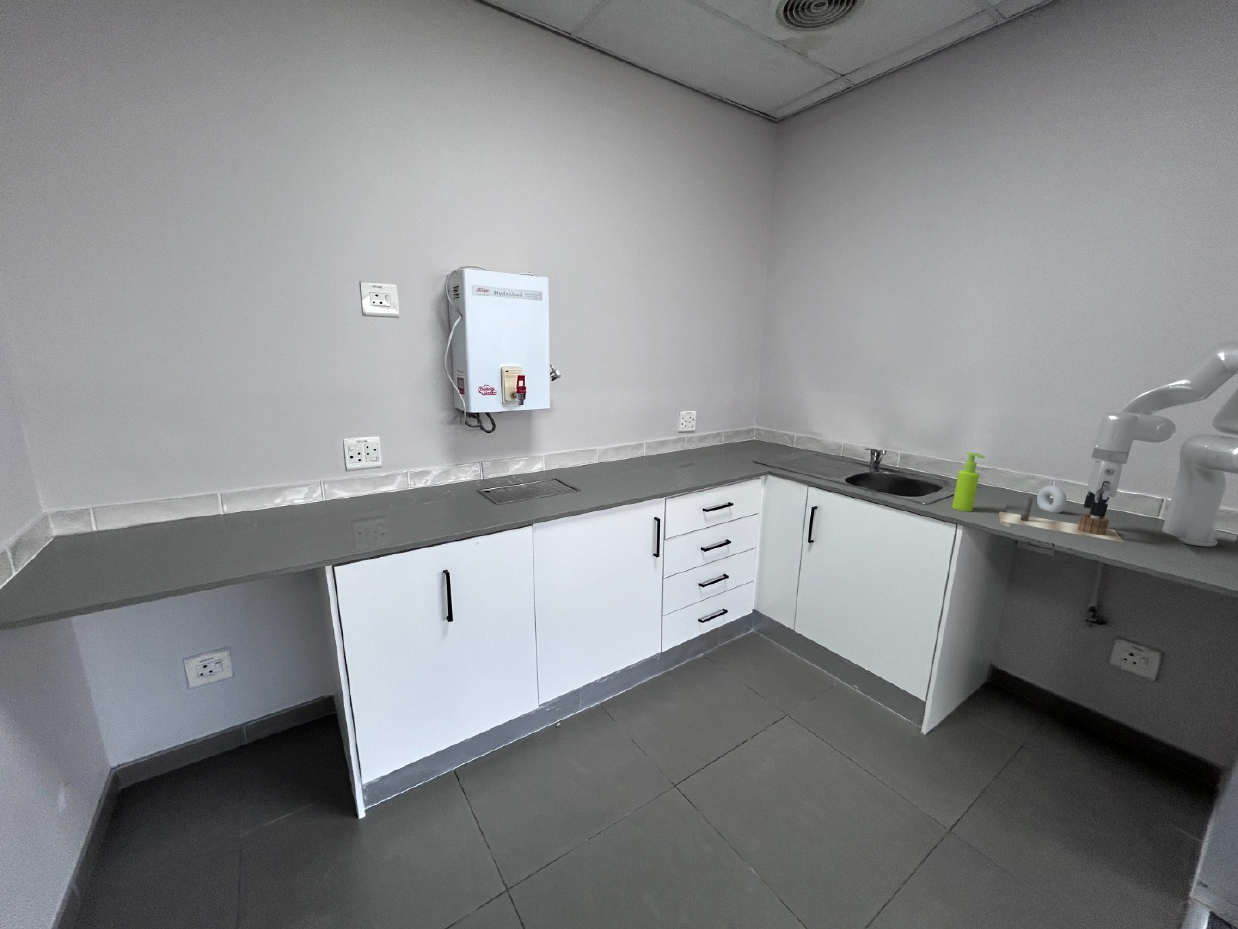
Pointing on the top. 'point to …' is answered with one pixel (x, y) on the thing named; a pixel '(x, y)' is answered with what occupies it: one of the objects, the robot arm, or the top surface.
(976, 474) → the soap dispenser
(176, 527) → the top surface
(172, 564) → the top surface
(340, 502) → the top surface
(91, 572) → the top surface
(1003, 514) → the peg board
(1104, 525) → the walnut ring
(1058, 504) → the donut
